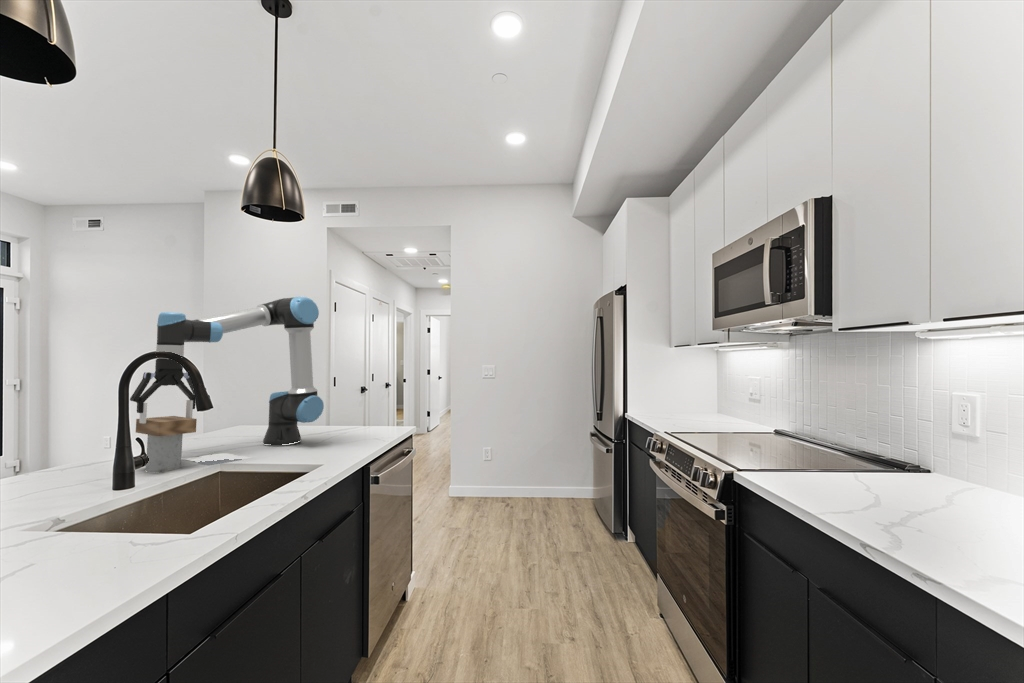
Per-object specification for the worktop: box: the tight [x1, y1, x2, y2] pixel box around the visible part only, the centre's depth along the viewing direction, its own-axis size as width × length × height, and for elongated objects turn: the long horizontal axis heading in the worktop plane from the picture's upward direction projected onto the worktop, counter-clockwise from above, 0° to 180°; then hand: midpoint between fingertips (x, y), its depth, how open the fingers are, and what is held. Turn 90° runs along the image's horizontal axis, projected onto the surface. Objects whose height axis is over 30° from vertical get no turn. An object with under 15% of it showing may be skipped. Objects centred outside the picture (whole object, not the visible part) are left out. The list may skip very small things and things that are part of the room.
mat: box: [197, 459, 242, 466], centre depth 170 cm, size 16×20×1 cm
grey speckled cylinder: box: [145, 434, 184, 474], centre depth 154 cm, size 10×10×12 cm
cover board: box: [135, 415, 198, 436], centre depth 154 cm, size 11×15×4 cm
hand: (166, 421), depth 154 cm, fingers open, 13 cm apart
